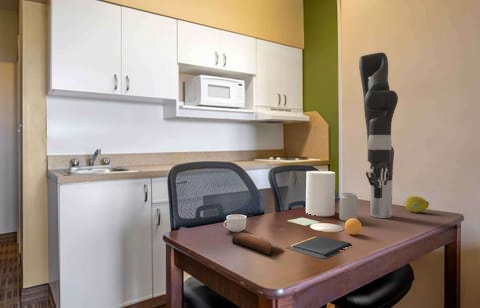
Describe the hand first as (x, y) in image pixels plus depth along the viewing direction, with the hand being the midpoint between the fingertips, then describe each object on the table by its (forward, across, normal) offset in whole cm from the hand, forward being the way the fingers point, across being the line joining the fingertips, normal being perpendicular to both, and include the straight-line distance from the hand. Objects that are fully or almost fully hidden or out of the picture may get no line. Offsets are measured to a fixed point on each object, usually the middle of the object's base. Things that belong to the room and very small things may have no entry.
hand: (378, 198), depth 114 cm
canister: (+15, -20, -40) cm, 48 cm away
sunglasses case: (+16, +38, -19) cm, 46 cm away
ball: (+12, 0, -9) cm, 15 cm away
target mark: (+15, 0, -21) cm, 26 cm away
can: (+15, -18, -24) cm, 33 cm away
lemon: (+15, -61, -14) cm, 64 cm away
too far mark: (+15, 0, -33) cm, 37 cm away
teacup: (+16, +33, -39) cm, 54 cm away
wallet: (+16, +21, -8) cm, 28 cm away
